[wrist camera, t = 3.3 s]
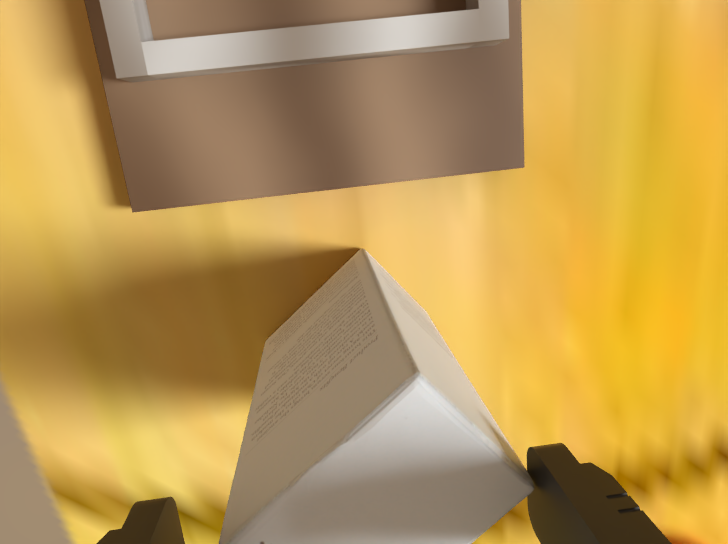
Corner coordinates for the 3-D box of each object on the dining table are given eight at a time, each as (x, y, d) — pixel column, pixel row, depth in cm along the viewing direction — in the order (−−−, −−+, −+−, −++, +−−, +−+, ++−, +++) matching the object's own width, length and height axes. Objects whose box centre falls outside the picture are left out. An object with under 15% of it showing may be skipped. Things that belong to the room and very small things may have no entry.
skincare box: (333, 400, 24) (345, 659, 12) (263, 339, 23) (203, 558, 11) (431, 309, 23) (545, 493, 11) (364, 241, 22) (413, 368, 10)
